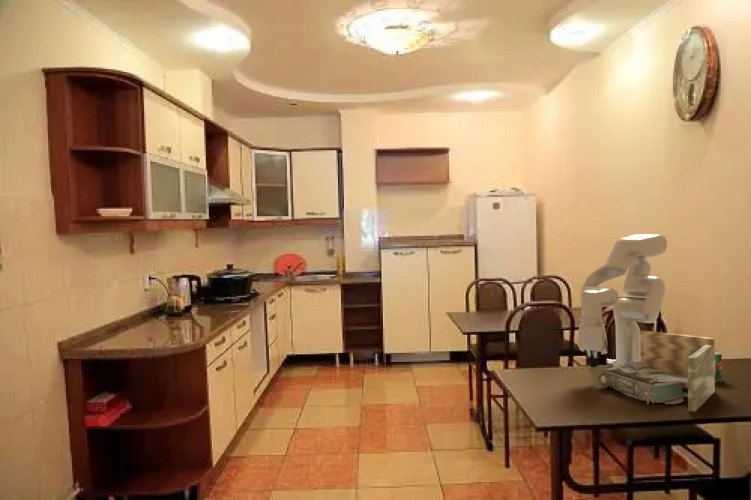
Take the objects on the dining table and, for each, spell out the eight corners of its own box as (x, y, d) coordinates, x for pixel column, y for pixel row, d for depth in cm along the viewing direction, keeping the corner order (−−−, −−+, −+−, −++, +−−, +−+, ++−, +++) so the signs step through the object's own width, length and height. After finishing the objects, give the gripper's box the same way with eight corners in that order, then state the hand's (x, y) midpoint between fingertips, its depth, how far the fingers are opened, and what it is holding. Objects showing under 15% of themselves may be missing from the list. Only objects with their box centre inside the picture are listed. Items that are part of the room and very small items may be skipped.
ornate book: (593, 389, 203) (660, 410, 175) (592, 364, 203) (658, 382, 175) (637, 382, 211) (707, 401, 182) (636, 358, 211) (706, 374, 182)
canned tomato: (726, 381, 204) (726, 354, 203) (706, 382, 204) (706, 354, 203) (713, 376, 211) (713, 349, 211) (694, 376, 212) (694, 349, 211)
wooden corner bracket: (616, 396, 190) (616, 342, 189) (642, 379, 210) (641, 330, 209) (695, 411, 172) (694, 352, 171) (714, 391, 192) (714, 338, 191)
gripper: (569, 321, 208) (571, 366, 209) (607, 325, 197) (609, 372, 198) (577, 317, 213) (579, 361, 214) (615, 321, 203) (616, 367, 204)
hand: (594, 366), depth 206 cm, fingers closed
